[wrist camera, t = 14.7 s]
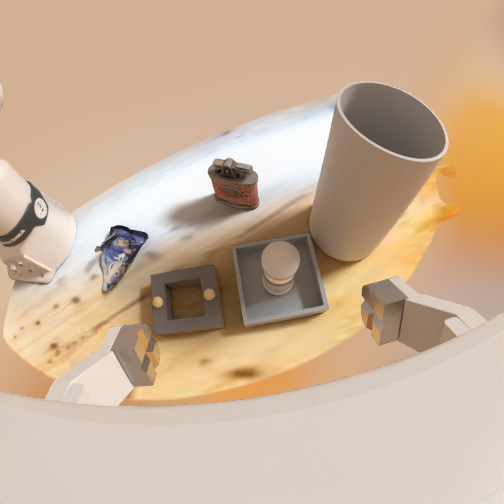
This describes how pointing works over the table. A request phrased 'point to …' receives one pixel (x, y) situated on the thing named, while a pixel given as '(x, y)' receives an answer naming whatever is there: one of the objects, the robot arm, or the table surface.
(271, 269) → the ball
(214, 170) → the lighter
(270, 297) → the tray
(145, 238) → the snack package
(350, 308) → the table surface
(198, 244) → the table surface
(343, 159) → the cylinder vase
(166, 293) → the block
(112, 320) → the table surface
